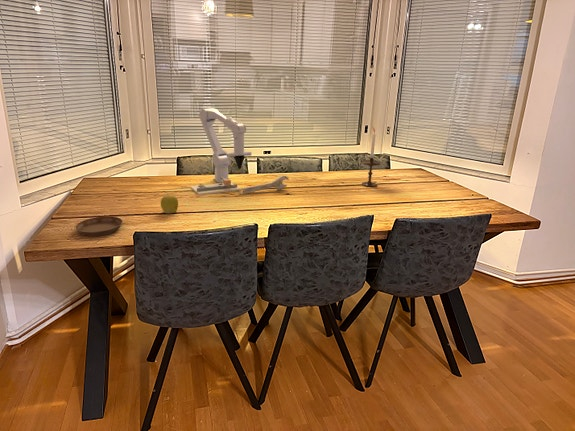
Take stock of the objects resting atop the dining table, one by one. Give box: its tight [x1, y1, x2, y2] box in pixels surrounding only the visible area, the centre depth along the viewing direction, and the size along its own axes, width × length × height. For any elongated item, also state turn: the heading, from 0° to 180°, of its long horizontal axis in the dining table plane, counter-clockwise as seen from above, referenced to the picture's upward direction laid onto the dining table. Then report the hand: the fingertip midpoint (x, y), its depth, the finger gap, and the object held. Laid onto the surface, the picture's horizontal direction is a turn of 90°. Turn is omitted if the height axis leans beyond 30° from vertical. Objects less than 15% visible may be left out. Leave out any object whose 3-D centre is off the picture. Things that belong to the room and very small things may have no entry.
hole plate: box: [189, 182, 241, 196], centre depth 228 cm, size 16×24×1 cm, turn 118°
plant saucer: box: [75, 215, 124, 237], centre depth 165 cm, size 18×18×3 cm
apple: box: [160, 194, 179, 214], centre depth 188 cm, size 8×8×10 cm
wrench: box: [238, 175, 290, 195], centre depth 226 cm, size 8×2×30 cm
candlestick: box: [361, 126, 382, 188], centre depth 239 cm, size 11×11×35 cm
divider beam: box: [197, 183, 238, 192], centre depth 228 cm, size 10×23×2 cm, turn 118°
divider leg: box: [221, 177, 232, 186], centre depth 230 cm, size 12×3×4 cm, turn 28°
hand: (239, 168), depth 235 cm, fingers closed
